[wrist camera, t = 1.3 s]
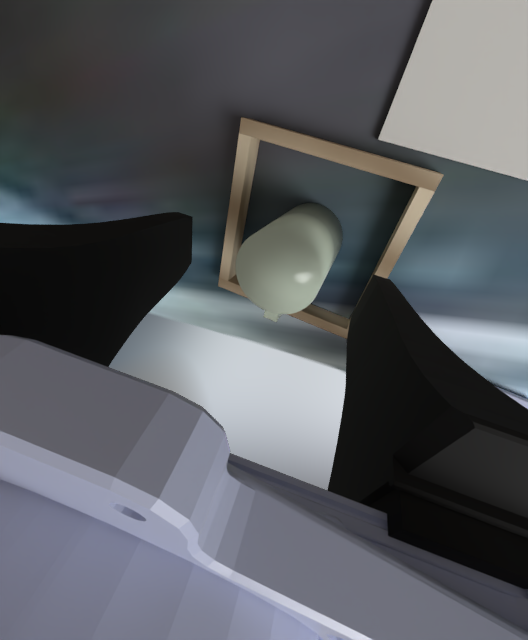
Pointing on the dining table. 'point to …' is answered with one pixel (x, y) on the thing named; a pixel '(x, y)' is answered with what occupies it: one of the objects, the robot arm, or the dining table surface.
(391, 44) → the dining table surface
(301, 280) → the pale green capsule
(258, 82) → the dining table surface
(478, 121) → the mat
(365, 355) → the robot arm
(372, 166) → the holder
